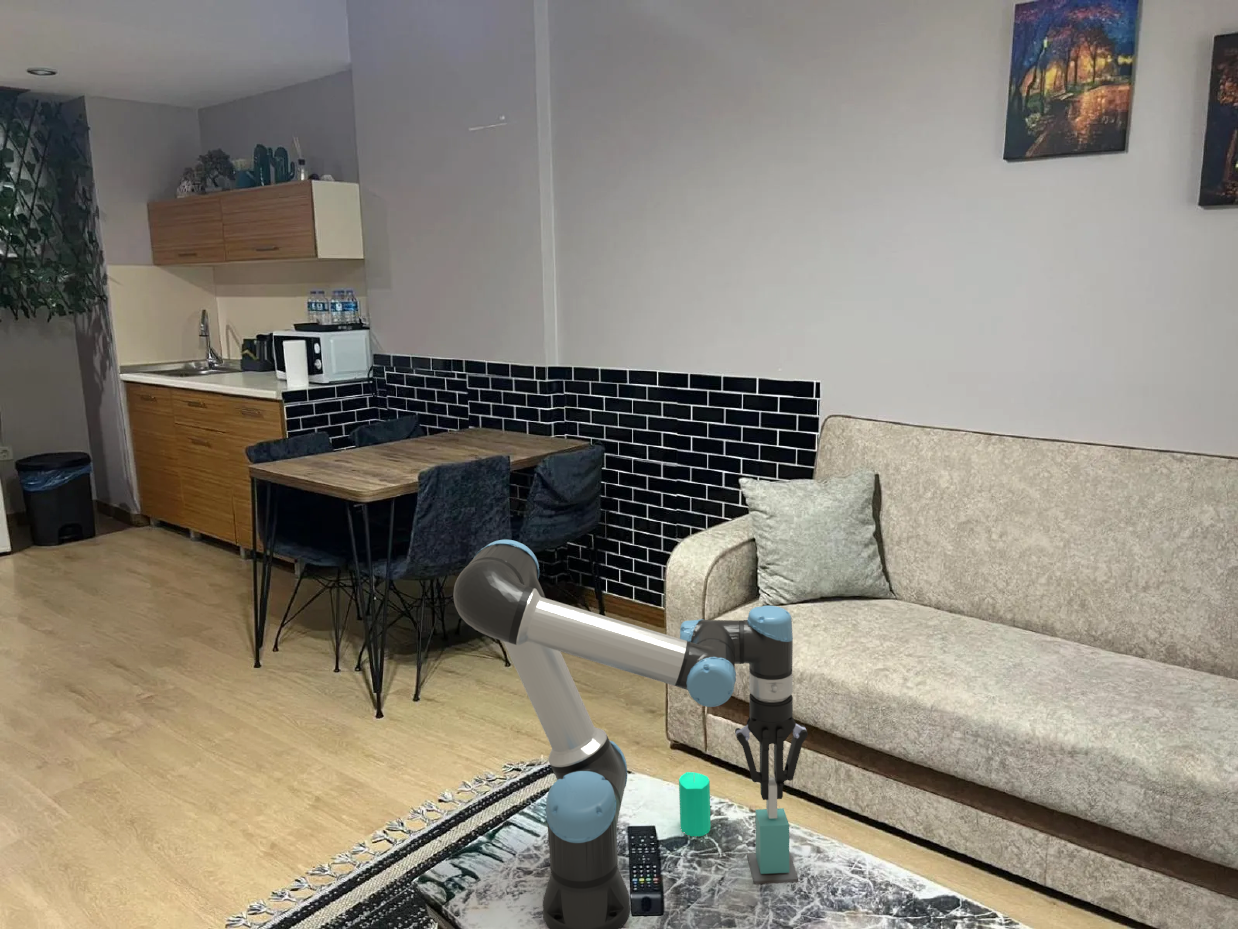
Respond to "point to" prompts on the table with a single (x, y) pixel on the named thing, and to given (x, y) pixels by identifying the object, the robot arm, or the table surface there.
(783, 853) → the turquoise rectangular block
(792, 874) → the gray square base stand
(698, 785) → the candle
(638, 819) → the table surface
